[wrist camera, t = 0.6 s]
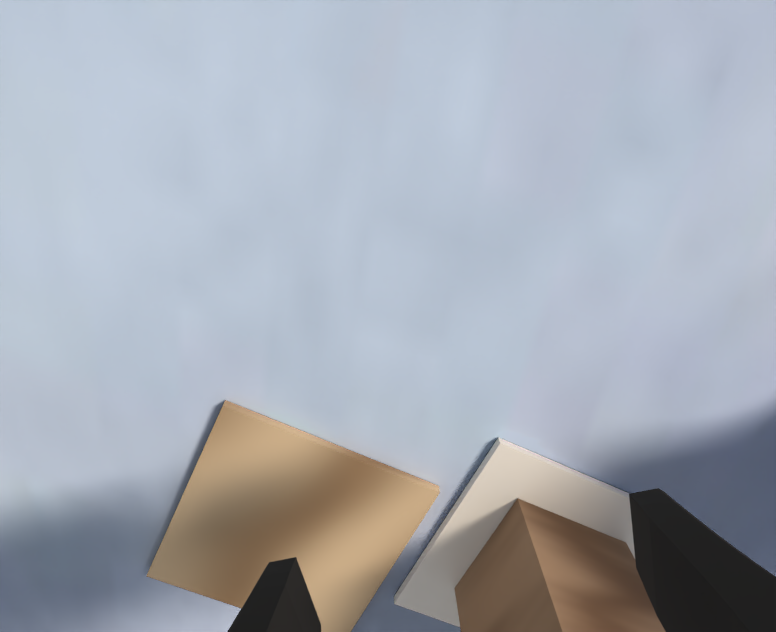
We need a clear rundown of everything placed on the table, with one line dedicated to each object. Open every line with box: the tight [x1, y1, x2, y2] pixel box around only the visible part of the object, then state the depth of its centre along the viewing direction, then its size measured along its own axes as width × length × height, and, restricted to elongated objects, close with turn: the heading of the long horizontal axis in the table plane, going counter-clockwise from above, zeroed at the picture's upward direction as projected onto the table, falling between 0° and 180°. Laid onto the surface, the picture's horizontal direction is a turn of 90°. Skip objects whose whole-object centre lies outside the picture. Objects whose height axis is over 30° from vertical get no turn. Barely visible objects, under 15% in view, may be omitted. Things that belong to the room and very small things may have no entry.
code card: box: [394, 438, 635, 627], centre depth 25 cm, size 9×9×1 cm
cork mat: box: [147, 400, 440, 632], centre depth 24 cm, size 9×9×1 cm
